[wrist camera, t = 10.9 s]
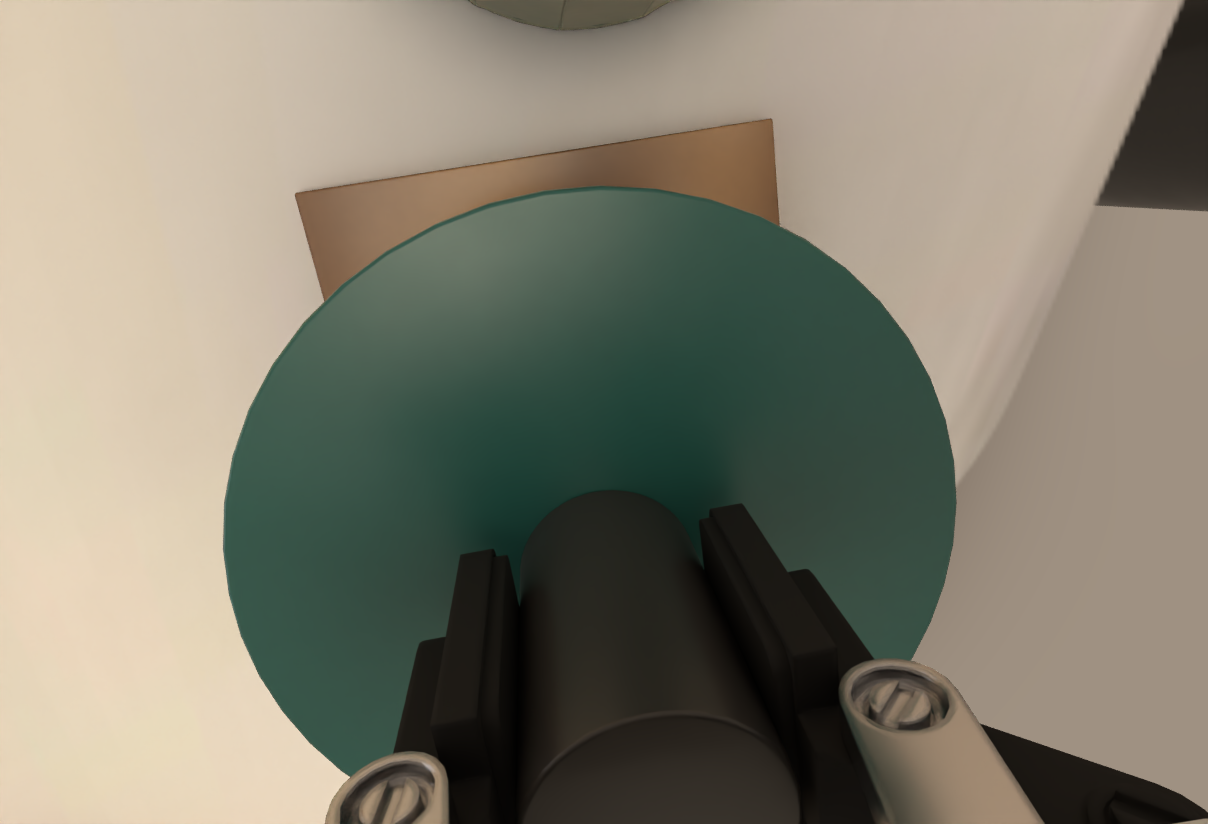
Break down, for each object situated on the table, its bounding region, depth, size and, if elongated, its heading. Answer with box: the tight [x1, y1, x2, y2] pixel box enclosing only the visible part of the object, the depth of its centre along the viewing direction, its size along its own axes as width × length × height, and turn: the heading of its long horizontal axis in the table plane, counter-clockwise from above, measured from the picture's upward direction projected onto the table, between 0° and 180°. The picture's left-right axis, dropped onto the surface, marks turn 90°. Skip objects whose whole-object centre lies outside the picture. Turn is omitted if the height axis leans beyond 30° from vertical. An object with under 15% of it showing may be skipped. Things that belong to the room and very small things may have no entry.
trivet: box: [295, 119, 779, 301], centre depth 25 cm, size 15×15×1 cm
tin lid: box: [223, 186, 956, 824], centre depth 11 cm, size 13×13×7 cm
